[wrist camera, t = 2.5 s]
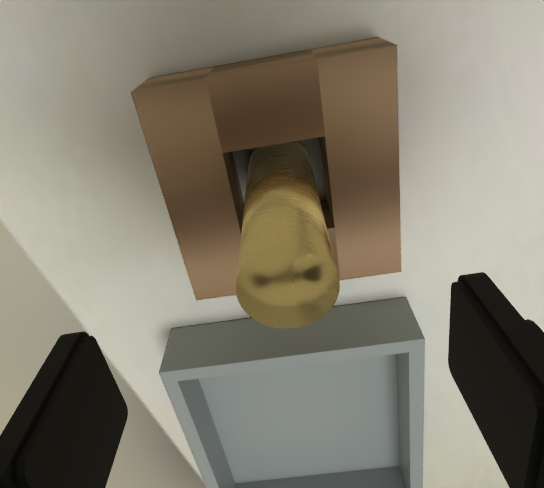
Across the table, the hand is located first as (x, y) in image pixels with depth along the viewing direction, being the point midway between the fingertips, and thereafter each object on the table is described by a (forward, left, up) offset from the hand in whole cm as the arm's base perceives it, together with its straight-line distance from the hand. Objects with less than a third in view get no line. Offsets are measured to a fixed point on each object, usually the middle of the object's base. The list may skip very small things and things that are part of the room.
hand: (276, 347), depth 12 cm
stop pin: (-1, 0, -12) cm, 12 cm away
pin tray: (+16, -1, -12) cm, 20 cm away
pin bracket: (-1, 0, -12) cm, 12 cm away
